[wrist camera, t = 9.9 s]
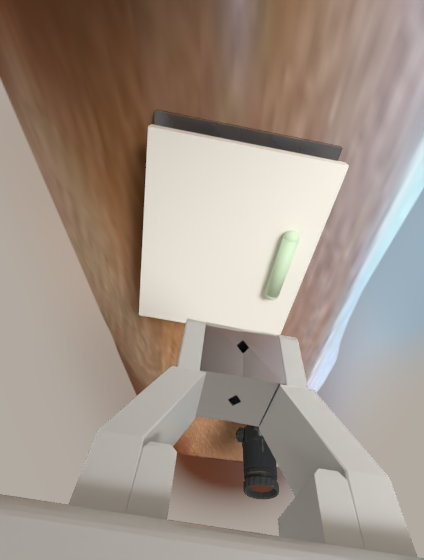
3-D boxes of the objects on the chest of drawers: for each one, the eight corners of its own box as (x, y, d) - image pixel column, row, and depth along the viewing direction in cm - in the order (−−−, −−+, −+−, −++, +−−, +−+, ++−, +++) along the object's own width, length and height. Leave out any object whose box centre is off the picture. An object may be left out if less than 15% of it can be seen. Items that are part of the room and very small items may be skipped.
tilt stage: (151, 124, 29) (143, 129, 26) (345, 162, 29) (354, 171, 27) (141, 308, 41) (135, 323, 39) (277, 332, 42) (279, 348, 39)
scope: (299, 478, 46) (281, 505, 52) (287, 394, 57) (273, 424, 63) (243, 470, 46) (231, 498, 51) (242, 388, 57) (233, 418, 63)
